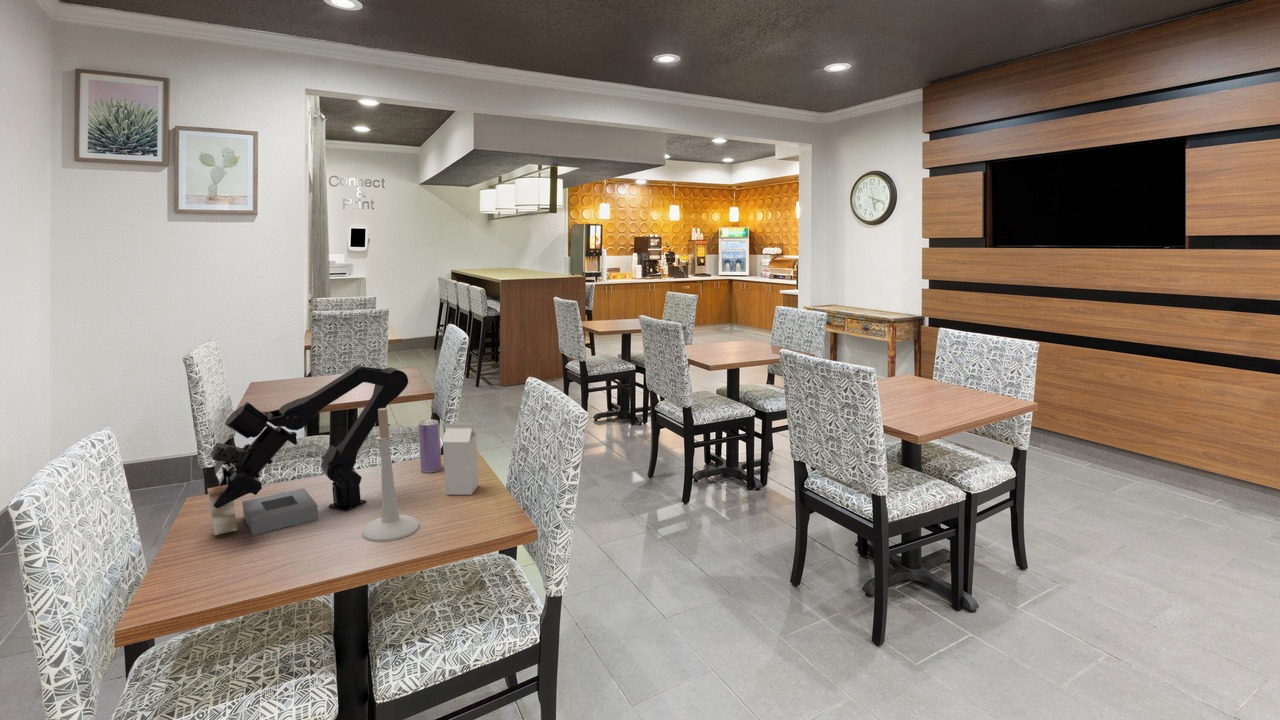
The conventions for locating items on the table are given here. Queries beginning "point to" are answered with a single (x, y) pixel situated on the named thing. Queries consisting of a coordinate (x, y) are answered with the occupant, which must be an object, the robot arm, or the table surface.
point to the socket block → (279, 511)
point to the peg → (221, 512)
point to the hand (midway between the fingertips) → (214, 504)
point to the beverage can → (429, 446)
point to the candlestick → (388, 496)
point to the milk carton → (460, 459)
